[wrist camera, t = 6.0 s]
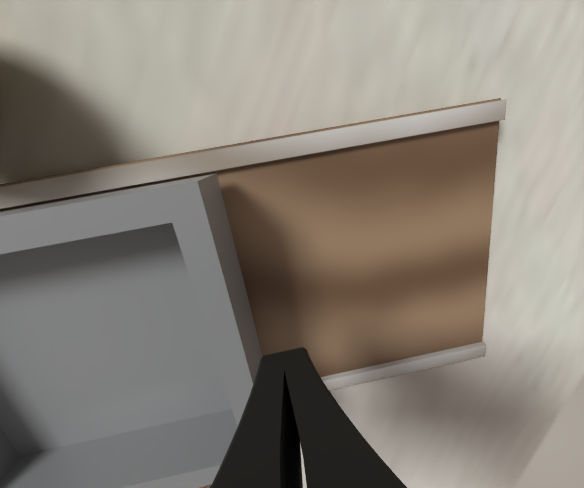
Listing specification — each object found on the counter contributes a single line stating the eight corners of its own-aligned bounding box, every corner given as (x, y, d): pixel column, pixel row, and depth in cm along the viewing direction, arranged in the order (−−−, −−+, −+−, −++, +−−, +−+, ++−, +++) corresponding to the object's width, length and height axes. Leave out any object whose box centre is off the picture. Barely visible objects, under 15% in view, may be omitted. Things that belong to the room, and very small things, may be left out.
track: (468, 343, 17) (527, 395, 14) (35, 438, 16) (-35, 526, 12) (483, 102, 13) (576, 79, 9) (-120, 206, 11) (-309, 231, 8)
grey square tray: (272, 387, 15) (276, 469, 11) (37, 438, 15) (-47, 544, 11) (219, 172, 11) (197, 181, 7) (-103, 229, 11) (-318, 272, 7)
